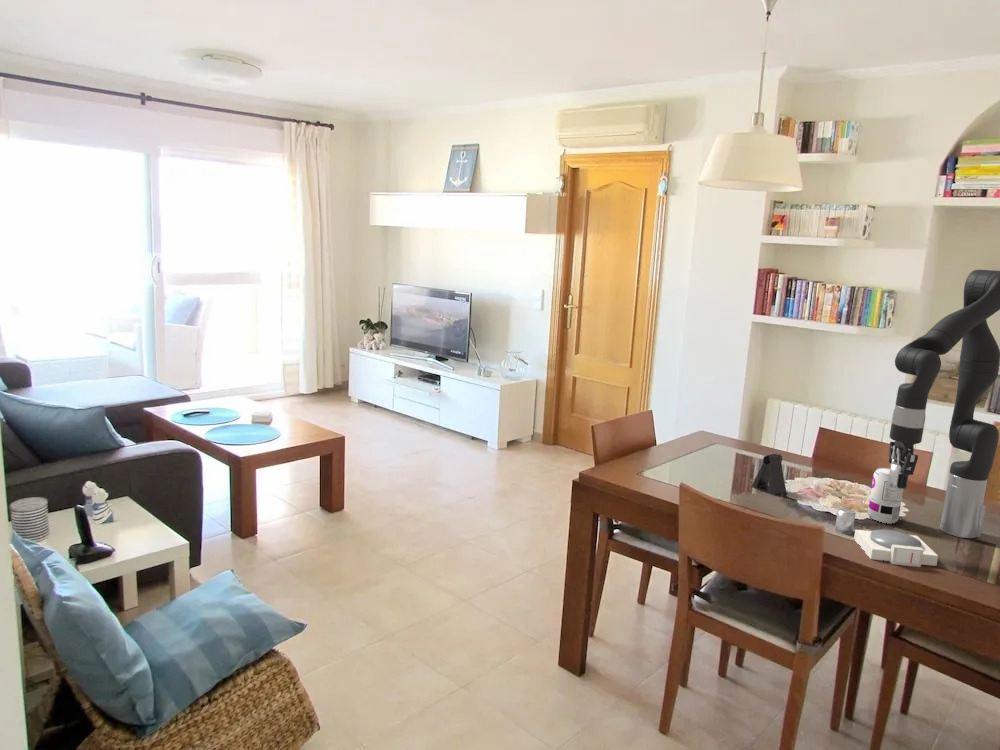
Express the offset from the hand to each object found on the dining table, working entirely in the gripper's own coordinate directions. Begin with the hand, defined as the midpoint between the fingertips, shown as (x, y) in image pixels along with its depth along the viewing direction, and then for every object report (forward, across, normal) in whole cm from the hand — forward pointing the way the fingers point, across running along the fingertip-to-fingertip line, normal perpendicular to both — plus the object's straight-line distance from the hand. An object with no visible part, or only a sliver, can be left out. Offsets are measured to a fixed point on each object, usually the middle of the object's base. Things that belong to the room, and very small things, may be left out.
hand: (897, 484), depth 195 cm
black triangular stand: (+18, +37, +25) cm, 48 cm away
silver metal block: (+1, 0, 0) cm, 1 cm away
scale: (+17, -6, 0) cm, 18 cm away
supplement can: (+18, +20, -5) cm, 27 cm away
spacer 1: (+17, +7, +10) cm, 21 cm away
